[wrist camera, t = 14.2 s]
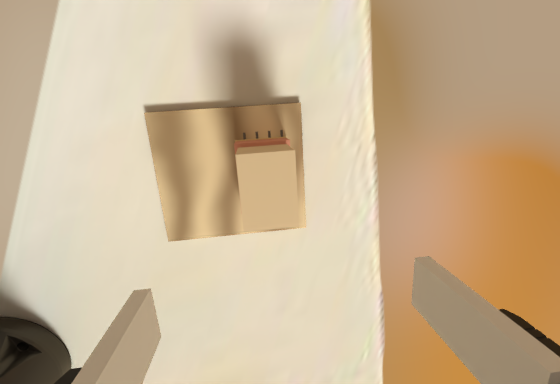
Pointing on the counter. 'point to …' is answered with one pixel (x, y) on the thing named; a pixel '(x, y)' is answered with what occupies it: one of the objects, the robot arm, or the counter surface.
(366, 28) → the counter surface
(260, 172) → the block
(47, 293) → the counter surface
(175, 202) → the board
